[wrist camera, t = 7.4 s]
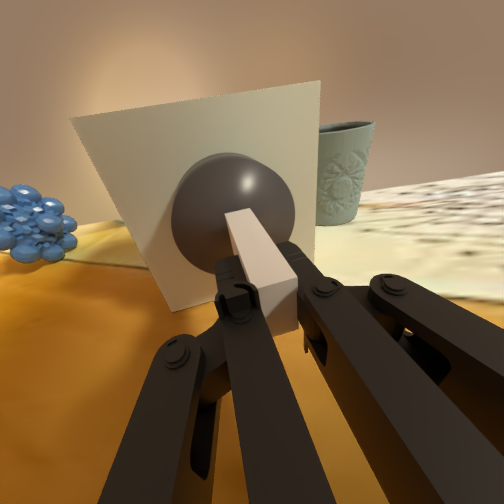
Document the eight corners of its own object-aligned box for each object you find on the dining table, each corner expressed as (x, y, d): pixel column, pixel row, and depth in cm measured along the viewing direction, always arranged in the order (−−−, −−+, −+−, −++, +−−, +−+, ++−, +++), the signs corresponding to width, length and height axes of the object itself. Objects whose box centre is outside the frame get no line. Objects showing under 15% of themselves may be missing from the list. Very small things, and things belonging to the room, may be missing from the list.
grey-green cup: (346, 234, 27) (360, 129, 21) (281, 221, 33) (275, 135, 27) (368, 205, 33) (385, 117, 27) (310, 198, 39) (311, 124, 33)
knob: (257, 210, 25) (247, 135, 21) (296, 260, 16) (293, 146, 12) (191, 226, 24) (166, 150, 20) (193, 288, 15) (148, 175, 11)
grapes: (54, 283, 27) (-26, 193, 21) (9, 286, 28) (-81, 201, 22) (108, 238, 37) (65, 167, 30) (74, 241, 38) (25, 173, 31)
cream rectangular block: (285, 237, 29) (276, 93, 20) (313, 271, 22) (320, 80, 13) (175, 265, 27) (112, 119, 18) (171, 312, 20) (69, 118, 11)
